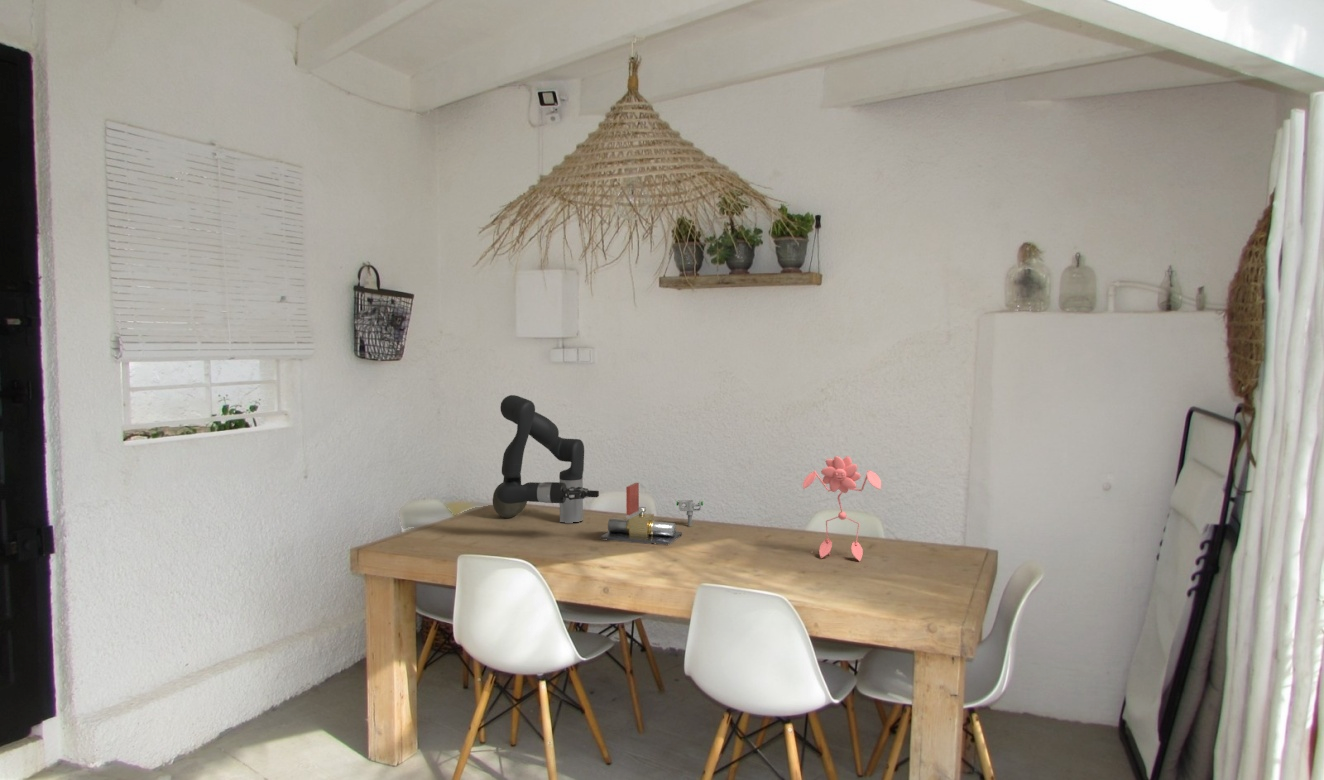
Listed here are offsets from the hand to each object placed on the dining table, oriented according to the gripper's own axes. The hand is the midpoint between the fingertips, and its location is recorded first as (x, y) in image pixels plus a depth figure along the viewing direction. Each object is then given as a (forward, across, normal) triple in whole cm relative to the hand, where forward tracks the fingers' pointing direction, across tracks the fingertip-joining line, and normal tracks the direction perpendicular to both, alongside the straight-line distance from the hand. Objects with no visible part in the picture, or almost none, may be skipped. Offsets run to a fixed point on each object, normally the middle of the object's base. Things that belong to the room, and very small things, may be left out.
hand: (598, 494), depth 298 cm
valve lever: (+13, +3, +7) cm, 15 cm away
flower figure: (+84, -14, +18) cm, 87 cm away
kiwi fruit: (-45, +34, +17) cm, 60 cm away
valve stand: (+14, +9, +17) cm, 24 cm away
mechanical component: (+29, +30, +17) cm, 45 cm away
